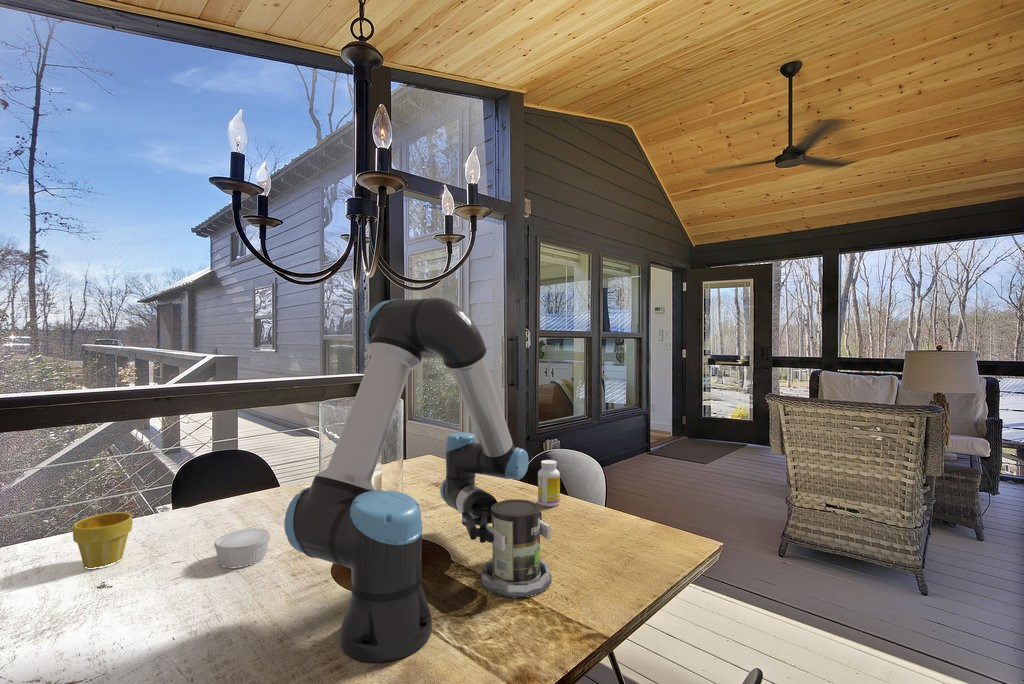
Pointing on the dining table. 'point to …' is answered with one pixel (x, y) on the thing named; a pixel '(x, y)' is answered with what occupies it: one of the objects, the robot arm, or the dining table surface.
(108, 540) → the plant pot
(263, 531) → the ramekin
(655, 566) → the dining table surface
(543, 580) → the shallow dark gray bowl
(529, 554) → the coffee can
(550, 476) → the supplement bottle
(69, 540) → the dining table surface
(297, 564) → the dining table surface
